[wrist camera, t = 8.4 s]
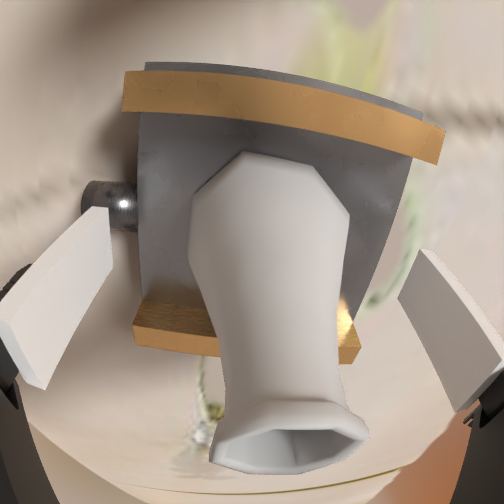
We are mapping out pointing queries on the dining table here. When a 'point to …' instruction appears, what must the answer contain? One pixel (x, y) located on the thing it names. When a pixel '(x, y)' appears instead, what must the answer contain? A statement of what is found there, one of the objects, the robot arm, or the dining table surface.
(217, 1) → the dining table surface
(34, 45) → the dining table surface
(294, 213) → the flask
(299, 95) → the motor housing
